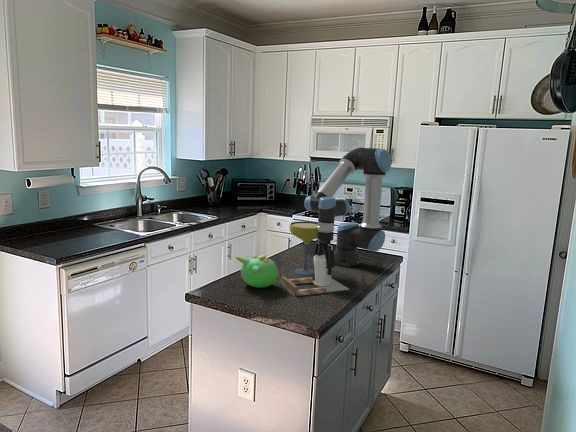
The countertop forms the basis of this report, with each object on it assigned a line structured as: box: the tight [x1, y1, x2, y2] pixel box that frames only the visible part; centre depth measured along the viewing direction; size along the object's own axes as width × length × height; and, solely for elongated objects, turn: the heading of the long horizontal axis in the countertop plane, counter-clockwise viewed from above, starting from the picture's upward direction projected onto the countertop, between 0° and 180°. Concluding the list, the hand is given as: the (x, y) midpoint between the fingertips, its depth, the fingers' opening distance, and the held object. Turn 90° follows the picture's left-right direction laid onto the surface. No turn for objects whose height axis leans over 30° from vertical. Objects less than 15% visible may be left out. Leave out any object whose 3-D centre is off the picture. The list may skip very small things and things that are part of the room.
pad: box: [312, 278, 350, 293], centre depth 210 cm, size 12×15×1 cm
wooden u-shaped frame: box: [280, 275, 328, 297], centre depth 204 cm, size 16×15×4 cm
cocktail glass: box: [289, 221, 319, 276], centre depth 227 cm, size 18×18×25 cm
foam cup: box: [313, 254, 330, 287], centre depth 207 cm, size 10×9×13 cm
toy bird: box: [235, 254, 279, 289], centre depth 202 cm, size 18×17×15 cm
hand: (322, 277), depth 207 cm, fingers closed on foam cup, 9 cm apart
